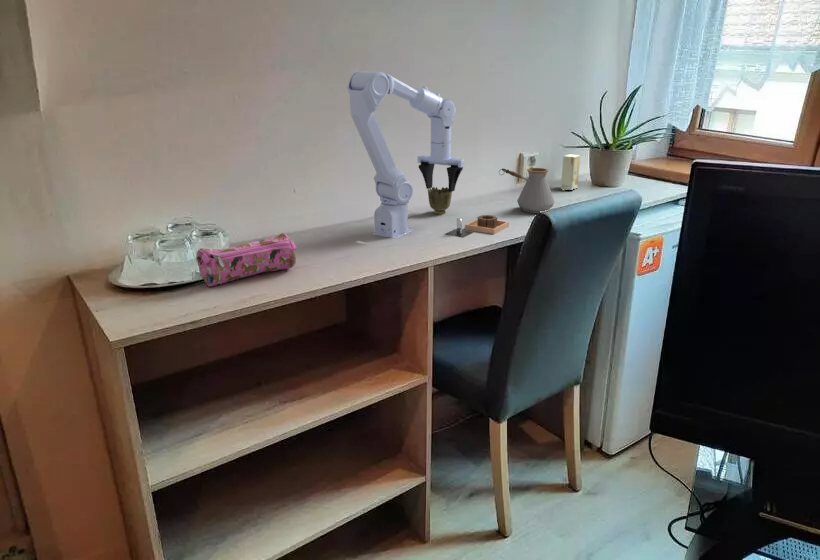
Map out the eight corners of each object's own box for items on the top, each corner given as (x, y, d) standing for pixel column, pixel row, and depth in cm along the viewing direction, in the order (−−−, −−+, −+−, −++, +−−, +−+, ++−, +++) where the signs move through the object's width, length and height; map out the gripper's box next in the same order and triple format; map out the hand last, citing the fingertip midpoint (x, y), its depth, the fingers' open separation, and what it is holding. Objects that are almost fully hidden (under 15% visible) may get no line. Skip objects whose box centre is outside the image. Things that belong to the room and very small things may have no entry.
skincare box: (571, 191, 220) (574, 157, 216) (560, 190, 222) (562, 156, 218) (577, 188, 225) (580, 154, 221) (566, 187, 227) (569, 153, 223)
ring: (491, 231, 173) (491, 220, 172) (474, 228, 175) (474, 218, 174) (499, 226, 177) (499, 216, 176) (482, 224, 179) (483, 214, 178)
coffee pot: (534, 204, 204) (537, 158, 198) (561, 211, 195) (565, 163, 189) (485, 214, 192) (487, 165, 187) (511, 222, 183) (514, 171, 178)
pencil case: (210, 293, 133) (204, 254, 130) (196, 281, 140) (191, 243, 137) (301, 273, 144) (298, 236, 141) (284, 262, 151) (281, 227, 148)
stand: (463, 239, 167) (463, 222, 166) (444, 235, 171) (444, 219, 169) (473, 234, 172) (474, 217, 170) (455, 230, 175) (455, 214, 174)
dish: (494, 235, 170) (494, 229, 170) (464, 230, 175) (465, 224, 174) (508, 228, 177) (509, 221, 177) (480, 223, 182) (480, 217, 182)
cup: (452, 211, 195) (452, 186, 192) (451, 217, 188) (451, 191, 186) (428, 211, 196) (428, 186, 193) (426, 217, 189) (426, 191, 186)
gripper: (470, 142, 174) (469, 189, 179) (426, 138, 182) (426, 184, 187) (457, 145, 169) (456, 194, 174) (413, 141, 176) (413, 188, 181)
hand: (440, 189), depth 180 cm, fingers open, 7 cm apart
